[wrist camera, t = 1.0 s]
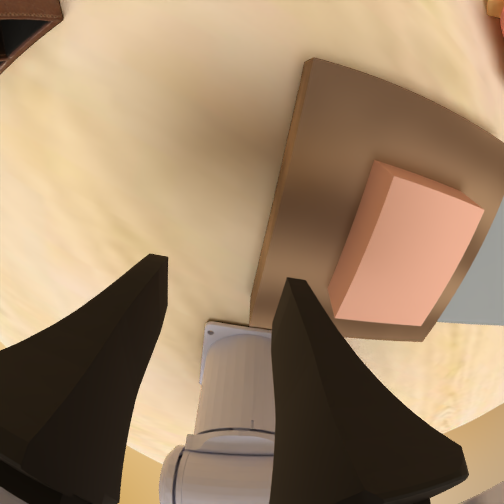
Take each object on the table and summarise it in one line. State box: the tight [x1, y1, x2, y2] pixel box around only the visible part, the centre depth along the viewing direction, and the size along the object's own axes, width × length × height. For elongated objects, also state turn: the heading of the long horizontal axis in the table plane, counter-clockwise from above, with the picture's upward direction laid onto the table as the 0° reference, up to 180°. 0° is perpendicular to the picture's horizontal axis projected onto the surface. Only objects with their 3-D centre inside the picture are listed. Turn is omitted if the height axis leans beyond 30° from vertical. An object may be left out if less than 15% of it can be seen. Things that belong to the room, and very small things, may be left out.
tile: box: [327, 160, 484, 326], centre depth 14 cm, size 8×6×2 cm
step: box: [249, 58, 504, 342], centre depth 17 cm, size 16×14×3 cm
